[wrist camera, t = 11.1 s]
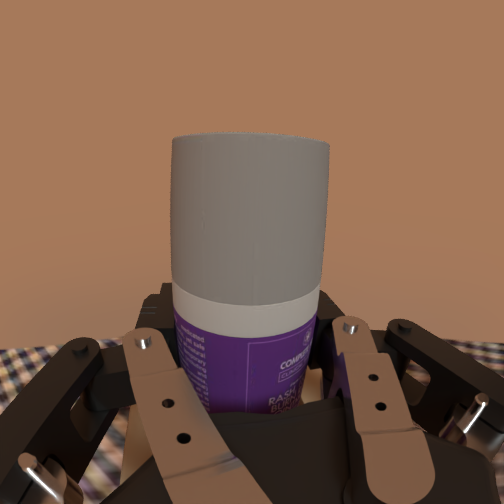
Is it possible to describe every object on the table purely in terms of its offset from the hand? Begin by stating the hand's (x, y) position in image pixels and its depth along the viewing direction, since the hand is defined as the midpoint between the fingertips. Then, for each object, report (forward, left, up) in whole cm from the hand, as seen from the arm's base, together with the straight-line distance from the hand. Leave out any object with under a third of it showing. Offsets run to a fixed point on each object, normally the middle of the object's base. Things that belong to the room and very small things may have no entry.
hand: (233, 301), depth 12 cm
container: (0, +3, -9) cm, 9 cm away
